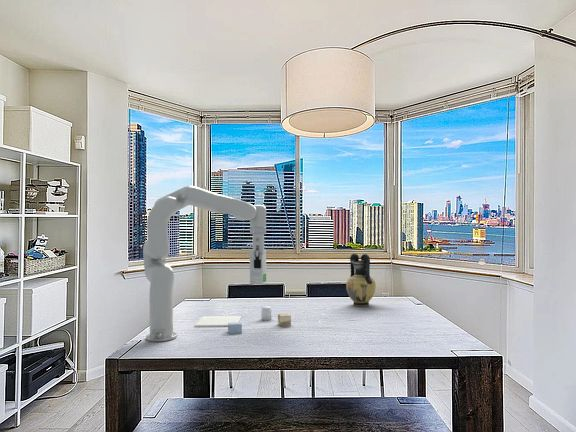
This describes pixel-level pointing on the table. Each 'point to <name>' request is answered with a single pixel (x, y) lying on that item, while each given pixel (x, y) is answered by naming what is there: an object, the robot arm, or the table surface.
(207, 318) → the cream mat
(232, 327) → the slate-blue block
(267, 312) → the white rounded piece
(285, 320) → the birch block
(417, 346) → the table surface
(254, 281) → the skincare box
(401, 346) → the table surface
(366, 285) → the amphora
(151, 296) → the robot arm
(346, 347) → the table surface
